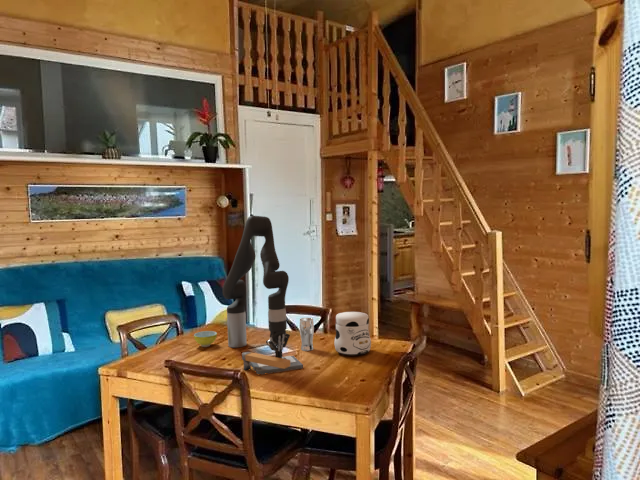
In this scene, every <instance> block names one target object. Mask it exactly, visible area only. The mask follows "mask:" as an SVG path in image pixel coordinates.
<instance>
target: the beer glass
mask: <svg viewBox="0 0 640 480" xmlns="http://www.w3.org/2000/svg"><path fill="white" fill-rule="evenodd" d="M314 324H315V323H314V318H313V317H301V318H299V334H300V339H301V347H300V350H301V352H302V351H303V352H311V351H313V350H314V344H313V341H314V331H315V326H314Z"/></svg>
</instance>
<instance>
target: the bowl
mask: <svg viewBox="0 0 640 480" xmlns="http://www.w3.org/2000/svg"><path fill="white" fill-rule="evenodd" d="M217 336H218V332H216V331H213V330H204V331H203V330H202V331H198V332H195V333H194V335H193V338H194V341H195V342H196V343H197V344H199V345H200V346H201V347H202V348H207V347H210V346H211V345H212V344H213V343H214V342H215V341H216V339H217V338H218V337H217Z"/></svg>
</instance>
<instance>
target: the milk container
mask: <svg viewBox="0 0 640 480" xmlns="http://www.w3.org/2000/svg"><path fill="white" fill-rule="evenodd" d="M369 318H370V317H369V315H368V313H365V312H360V311H343V312H339V313H337V314H336V315H335V337H334V343H333V344H334V348H335V351H336V352H337V353H338V354H340V355H343V356H351V357H353V356H356V357H357V356H363V355H365V354H367V353H369V352H370V350H371V346H372V339H371V336H370V321H369Z"/></svg>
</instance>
